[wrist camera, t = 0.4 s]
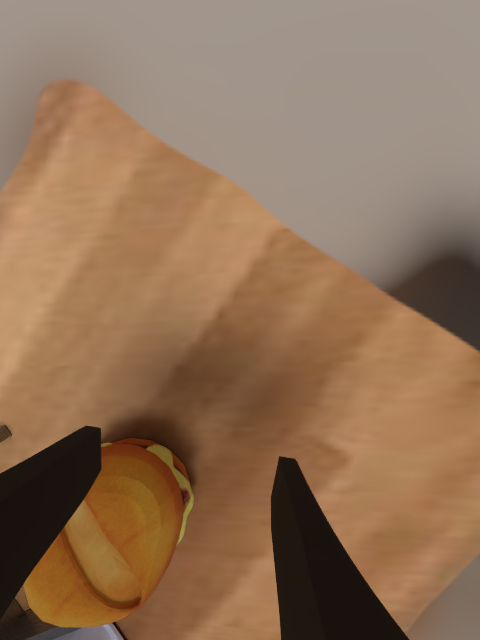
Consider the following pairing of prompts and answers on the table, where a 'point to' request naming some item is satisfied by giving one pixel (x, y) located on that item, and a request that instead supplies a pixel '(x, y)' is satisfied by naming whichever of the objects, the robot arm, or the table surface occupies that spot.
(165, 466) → the cheeseburger
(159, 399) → the table surface
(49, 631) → the grey low angled fixture
